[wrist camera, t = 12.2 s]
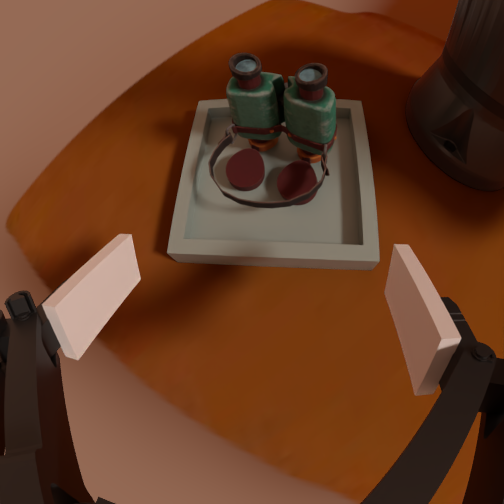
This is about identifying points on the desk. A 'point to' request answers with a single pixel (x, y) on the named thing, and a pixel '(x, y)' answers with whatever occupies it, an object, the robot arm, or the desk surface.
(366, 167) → the tray
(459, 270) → the desk surface
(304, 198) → the binoculars
